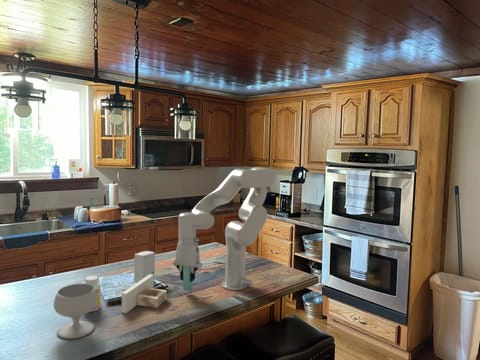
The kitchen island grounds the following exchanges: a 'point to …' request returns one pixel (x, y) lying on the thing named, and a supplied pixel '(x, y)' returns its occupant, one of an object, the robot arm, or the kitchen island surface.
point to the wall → (135, 292)
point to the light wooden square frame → (151, 297)
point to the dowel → (187, 278)
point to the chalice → (75, 309)
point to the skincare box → (144, 265)
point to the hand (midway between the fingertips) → (187, 279)
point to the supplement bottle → (93, 281)
